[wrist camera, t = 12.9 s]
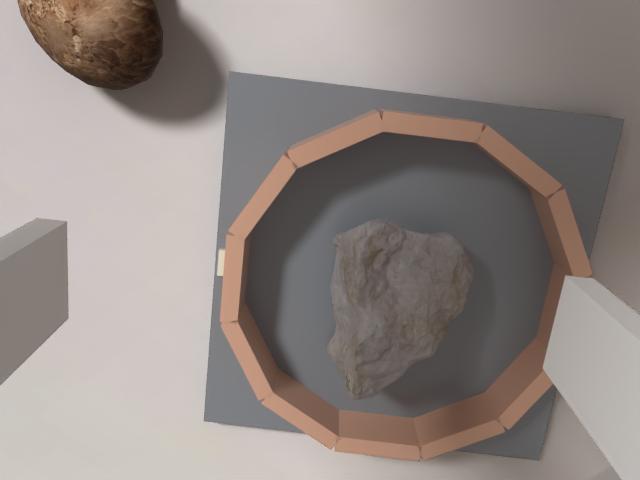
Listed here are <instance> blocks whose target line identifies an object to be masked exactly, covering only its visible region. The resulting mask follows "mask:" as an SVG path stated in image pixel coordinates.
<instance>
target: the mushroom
mask: <svg viewBox="0 0 640 480" xmlns="http://www.w3.org/2000/svg"><path fill="white" fill-rule="evenodd" d="M18 4H19V8H20V12H21V16H22V17H23V19H24V21H25V23H26V25H27V26H28V28H29V30H30V32H31V33H32V35H33V37H34V39H35V41H36V42H37V43H38V44H39V45H40V46H41V48H42V49H43V50H44V51H45V52H46V53H47V54H48V55H49V56H50V58H51V59H52V60H53V61H54V62H56V63H57V64H58V65H59V66H60V67H62V68H63V69H64V70H65V71H66V72H68V73H70V74H71V75H73V76H75V77H76V78H78V79H80V80H81V81H83V82H85V83H86V84H88V85H92V86H97V87H102V88H108V89H113V90H122V89H126V88H129V87H131V86H134V85H136V84H138V83H141V82H143V81H145V80H147V79H148V78H150V77H151V75H152V73H153V71H154V70H155V68H156V66H157V64H158V62H159V60H160V58H161V56H162V45H163V30H162V26H161V23H160V20H159V16H158V13H157V10H156V6H155V3H154V1H153V0H18Z"/></svg>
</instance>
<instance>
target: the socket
mask: <svg viewBox="0 0 640 480" xmlns="http://www.w3.org/2000/svg"><path fill="white" fill-rule="evenodd" d="M623 123H624V120H623V119H616V118H608V117H599V116H591V115H583V114H575V113H567V112H558V111H550V110H542V109H534V108H526V107H517V106H509V105H501V104H493V103H485V102H476V101H468V100H460V99H452V98H444V97H435V96H427V95H419V94H411V93H403V92H395V91H386V90H378V89H370V88H362V87H354V86H345V85H337V84H329V83H321V82H313V81H304V80H296V79H288V78H280V77H272V76H263V75H255V74H247V73H239V72H230V71H229V84H228V97H227V111H226V125H225V138H224V152H223V166H222V179H221V193H220V207H219V220H218V234H217V248H216V261H215V275H214V289H213V302H212V316H211V330H210V343H209V357H208V371H207V384H206V398H205V412H204V421H207V422H215V423H224V424H232V425H241V426H249V427H258V428H267V429H275V430H284V431H292V432H301V433H306V434H308V435H309V436H311V437H312V438H314V439H315V440H317V441H318V442H320V443H321V444H323V445H324V446H326V447H327V448H329V449H330V450H331V449H332V448H333V447H334V446H335V451H337V452H345V453H354V454H363V455H371V456H380V457H388V458H397V459H406V460H414V461H419V460H420V455H421V456H422V458H423V461H424V460H427V459H430V458H433V457H435V456H438V455H441V454H444V453H447V452H450V451H453V450H455V451H464V452H472V453H481V454H490V455H498V456H507V457H515V458H524V459H532V460H539V456H540V452H541V448H542V445H543V441H544V437H545V433H546V429H547V425H548V421H549V417H550V413H551V409H552V405H553V401H554V397H555V393H556V389H557V388H556V387H555V385H554V384H553V382H552V381H551V380H550V378H549V377H548V375H547V374H546V372H545V371H544V370H543V364H544V360H545V356H546V352H547V348H548V344H549V340H550V336H551V332H552V328H553V323H554V319H555V315H556V311H557V307H558V303H559V299H560V295H561V291H562V287H563V283H564V279H565V275H566V276H575V277H584V278H591V277H590V275H593V273H592V270H591V267H590V264H589V258H590V254H591V250H592V246H593V242H594V238H595V234H596V230H597V226H598V222H599V219H600V215H601V211H602V207H603V203H604V199H605V195H606V191H607V187H608V183H609V179H610V175H611V171H612V167H613V163H614V159H615V155H616V151H617V147H618V143H619V139H620V135H621V131H622V127H623ZM373 219H382V220H385V219H386V220H388V221H390V222H393V223H395V224H396V225H398V226H399V227H401V228H402V229H406V230H408V231H413V232H418V233H421V234H425V233H431V234H432V233H437V232H448V233H450V234H451V235H452V236H453V237H454V238H455V239H456V240H458V241H459V242H460V243H461V244H462V245H463V246H464V249H465V251H466V252H467V254H468V257H469V259H470V261H471V263H472V266H473V270H474V279H473V281H472V282H471V283H470V288H469V290H468V292H467V293H466V298H467V299H466V301H465V304H464V307H463V310H462V312H461V313H460V315H458V316H457V317H455V318H454V319H452V321H451V322H450V323H449V325H448V326H447V329H446V332H445V336H444V338H443V339H442V340H441V341H440V344H439V346H438V348H437V350H436V351H435V353H434V355H433V356H431V357H429V358H426V359H422V360H419V361H417V362H415V363H414V364H412V365H411V366H410V368H409V370H407V371H406V372H405V373H404V375H402V376H401V377H400V378H399V379H397V380H396V381H394V382H392V383H390V384H389V385H387V386H386V387H385V388H383V389H382V390H381V391H380V393H379V394H378V395H377V396H375V397H373V398H365V399H361V400H355V399H353V398H351V396H350V394H349V393H348V392H347V389H346V387H345V385H344V379H343V376H342V375H341V374H340V373H339V372H338V365H337V363H336V362H333V361H332V360H331V359H330V358H329V356H328V351H327V347H328V343H329V341H330V339H332V337H333V335H334V333H335V328H336V322H335V318H334V315H333V308H332V301H333V299H332V296H331V292H330V285H331V281H332V274H333V271H334V265H335V258H336V253H337V250H336V248H335V247H334V246H333V244H332V240H333V239H334V238H335V235H336V234H337V233H338V232H340V233H342V232H347V231H348V230H350V229H354V228H355V227H357V226H359V225H362V224H364V223H366V222H368V221H370V220H373Z"/></svg>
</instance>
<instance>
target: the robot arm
mask: <svg viewBox="0 0 640 480" xmlns="http://www.w3.org/2000/svg"><path fill="white" fill-rule="evenodd" d="M67 319H68V258H67V221H59V220H50V219H41V218H37V219H35V220H33V221H31V222H29V223H27V224H25V225H23V226H21V227H20V228H18V229H16V230H14V231H12V232H10V233H8V234H6V235H5V236H3V237H1V238H0V385H1V384H2V383H3V382H4V381H5V380H6V379H7V378H8V377H9V376H10V375H11V374H12V373H13V372H14V371H15V370H16V369H17V368H18V367H19V366H20V365H21V364H22V363H24V362H25V361H26V360H27V359H28V358H29V357H30V356H31V355H32V354H33V353H34V352H35V351H36V350H37V349H38V348H39V347H40V346H41V345H42V344H43V343H44V342H45V341H46V340H47V339H48V338H49V337H50V336H51V335H52V334H53V333H54V332H55V331H56V330H57V329H58V328H59V327H60V326H61V325H62V324H63V323H64V322H65V321H66V320H67ZM543 370H544V371H545V372H546V374H547V375H548V377H549V378H550V380H551V381H552V382H553V384H554V385H555V387H556V388H557V389H558V391H559V392H560V394H561V395H562V396H563V398H564V399H565V401H566V402H567V404H568V405H569V406H570V408H571V409H572V411H573V412H574V413H575V415H576V416H577V418H578V419H579V420H580V422H581V423H582V425H583V426H584V427H585V429H586V430H587V432H588V433H589V435H590V436H591V437H592V439H593V440H594V442H595V443H596V444H597V446H598V447H599V449H600V450H601V451H602V453H603V454H604V456H605V457H606V459H607V460H608V461H609V463H610V464H611V466H612V467H613V468H614V470H615V471H616V473H617V474H618V475H619V477H620V478H621V480H640V315H639V314H637V313H636V312H635V311H634V310H632V309H631V308H630V307H629V306H627V305H626V304H625V303H624V302H623V301H621V300H620V299H619V298H618V297H616V296H615V295H614V294H613V293H611V292H610V291H609V290H608V289H606V288H605V287H604V286H603V285H601V284H600V283H599V282H598V281H596V280H595V279H593V278H584V277H575V276H566V275H565V279H564V283H563V287H562V291H561V295H560V299H559V303H558V307H557V311H556V315H555V319H554V323H553V328H552V332H551V336H550V340H549V344H548V348H547V352H546V356H545V360H544V364H543Z"/></svg>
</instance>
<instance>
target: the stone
mask: <svg viewBox="0 0 640 480" xmlns="http://www.w3.org/2000/svg"><path fill="white" fill-rule="evenodd" d="M332 244H333V246H334V247H335V248H336V250H337V253H336V258H335V265H334V271H333V274H332V281H331V285H330V292H331V296H332V299H333V301H332V308H333V315H334V318H335V322H336V328H335V333H334V335H333V337H332V339H330V341H329V343H328V347H327V351H328V356H329V358H330V359H331V360H332V361H333V362H336V363H337V365H338V372H339V373H340V374H341V375H342V376H343V379H344V385H345V387H346V389H347V392H348V393H349V394H350V396H351V398H353V399H355V400H361V399H365V398H373V397H375V396H377V395H378V394H379V393H380V391H381V390H382V389H383V388H385V387H386V386H387V385H389V384H390V383H392V382H394V381H396V380H397V379H399V378H400V377H401V376H402V375H404V373H405V372H406V371H407V370H409V368H410V366H411V365H412V364H414V363H415V362H417V361H419V360H422V359H426V358H429V357H431V356H433V355H434V353H435V351H436V350H437V348H438V346H439V344H440V341H441V340H442V339H443V338H444V336H445V332H446V329H447V326H448V325H449V323H450V322H451V321H452V319H454V318H455V317H457V316H458V315H460V313H461V312H462V310H463V307H464V304H465V301H466V299H467V298H466V293H467V292H468V290H469V288H470V283H471V282H472V281H473V279H474V270H473V266H472V263H471V261H470V259H469V257H468V254H467V252H466V251H465V249H464V246H463V245H462V244H461V243H460V242H459V241H458V240H456V239H455V238H454V237H453V236H452V235H451V234H450V233H448V232H437V233H432V234H431V233H425V234H421V233H418V232H413V231H408V230H406V229H402V228H401V227H399V226H398V225H396V224H395V223H393V222H390V221H388V220H386V219H385V220H382V219H373V220H370V221H368V222H366V223H364V224H362V225H359V226H357V227H355V228H354V229H350V230H348V231H347V232H342V233H340V232H338V233H337V234H336V235H335V238H334V239H333V240H332Z"/></svg>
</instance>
